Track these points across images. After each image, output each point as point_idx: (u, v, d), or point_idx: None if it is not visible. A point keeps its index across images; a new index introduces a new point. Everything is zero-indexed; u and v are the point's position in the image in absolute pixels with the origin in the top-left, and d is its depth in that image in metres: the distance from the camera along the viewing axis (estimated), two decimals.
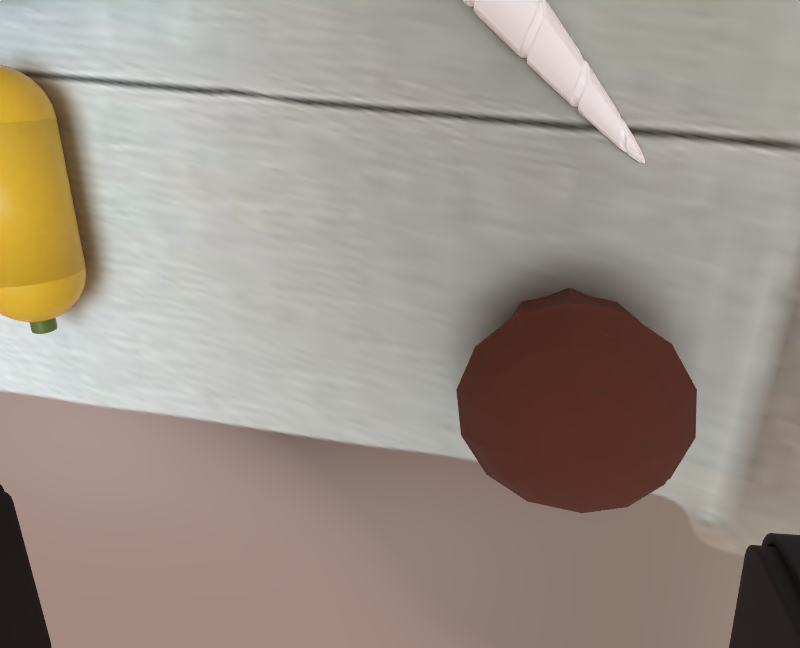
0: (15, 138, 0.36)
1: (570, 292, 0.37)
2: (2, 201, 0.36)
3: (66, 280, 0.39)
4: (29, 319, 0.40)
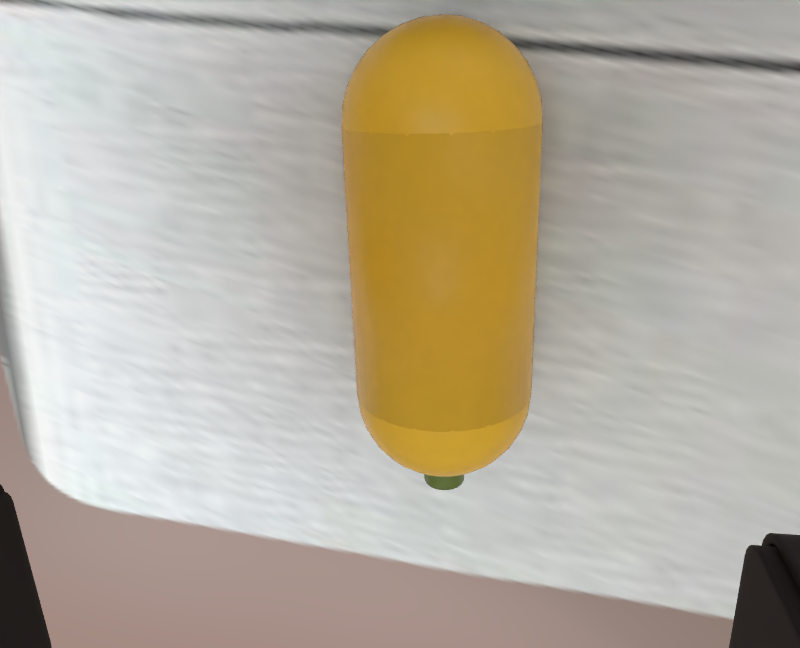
0: (518, 159, 0.18)
1: None
2: (477, 280, 0.19)
3: (526, 408, 0.22)
4: (453, 475, 0.22)
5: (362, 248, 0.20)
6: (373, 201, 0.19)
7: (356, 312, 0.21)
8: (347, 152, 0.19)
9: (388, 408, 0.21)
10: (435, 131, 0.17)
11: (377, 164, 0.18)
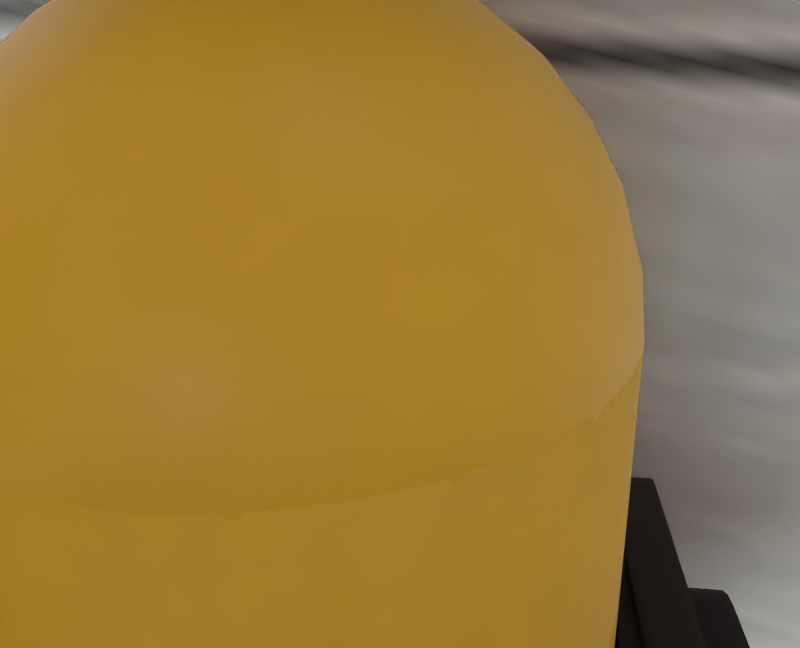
0: (569, 539, 0.04)
1: None
2: None
3: None
4: None
5: None
6: None
7: None
8: None
9: None
10: (154, 501, 0.03)
11: None
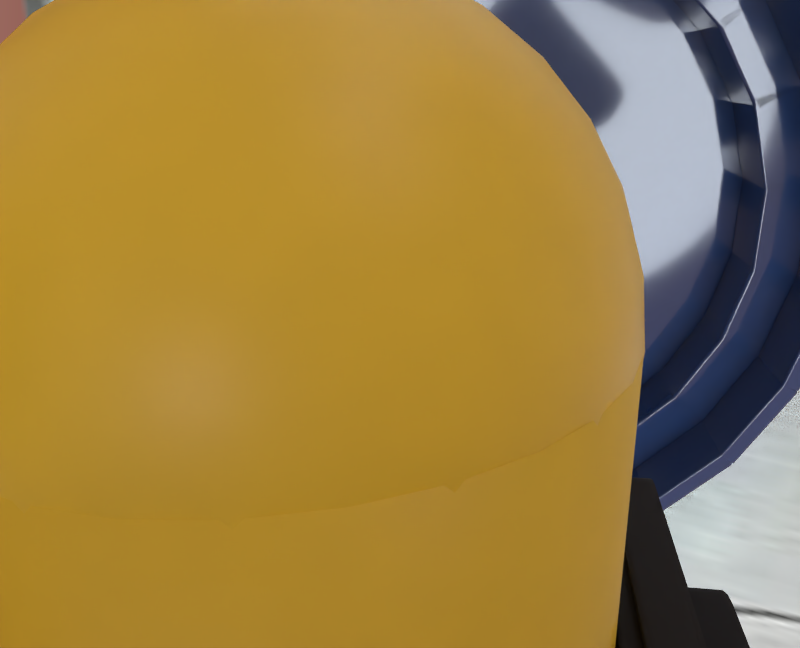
0: (568, 545, 0.04)
1: None
2: None
3: None
4: None
5: None
6: None
7: None
8: None
9: None
10: (151, 507, 0.03)
11: None
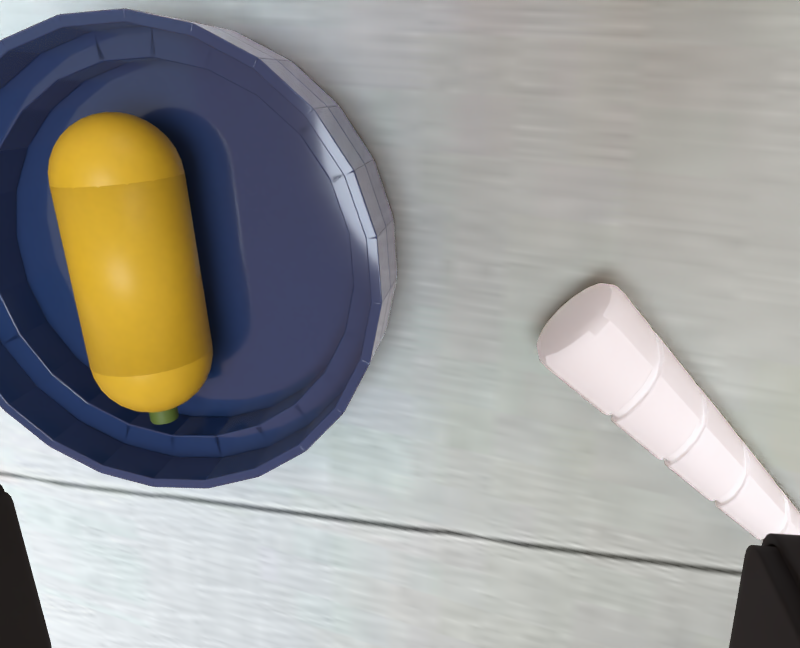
0: (124, 203, 0.29)
1: None
2: (107, 278, 0.30)
3: (180, 370, 0.32)
4: (141, 411, 0.33)
5: (66, 255, 0.32)
6: (58, 226, 0.31)
7: None
8: None
9: (88, 358, 0.33)
10: (66, 186, 0.29)
11: None
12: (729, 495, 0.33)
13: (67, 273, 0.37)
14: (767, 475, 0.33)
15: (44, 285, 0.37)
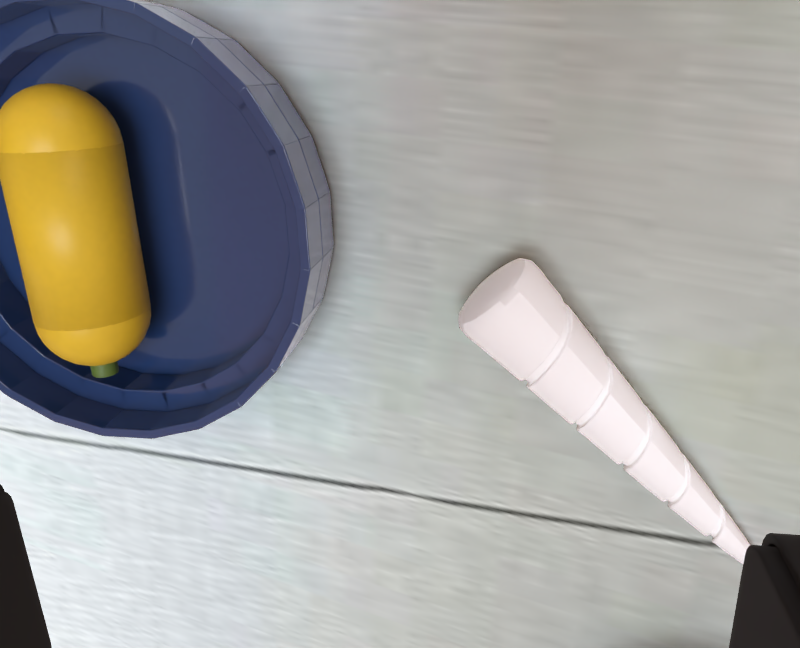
0: (47, 170, 0.31)
1: None
2: (34, 238, 0.33)
3: (104, 329, 0.35)
4: (75, 363, 0.36)
5: None
6: None
7: None
8: None
9: None
10: None
11: None
12: (633, 459, 0.36)
13: None
14: (670, 442, 0.36)
15: (6, 245, 0.40)
